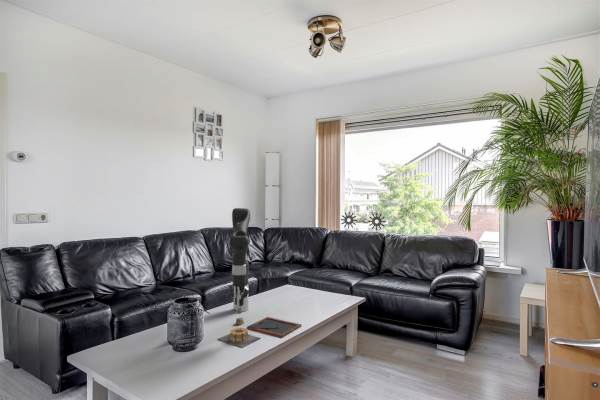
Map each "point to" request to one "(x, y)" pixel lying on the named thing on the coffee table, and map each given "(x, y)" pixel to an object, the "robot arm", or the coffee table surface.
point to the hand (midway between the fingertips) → (239, 305)
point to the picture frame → (274, 327)
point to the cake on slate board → (239, 337)
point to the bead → (239, 321)
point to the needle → (238, 305)
